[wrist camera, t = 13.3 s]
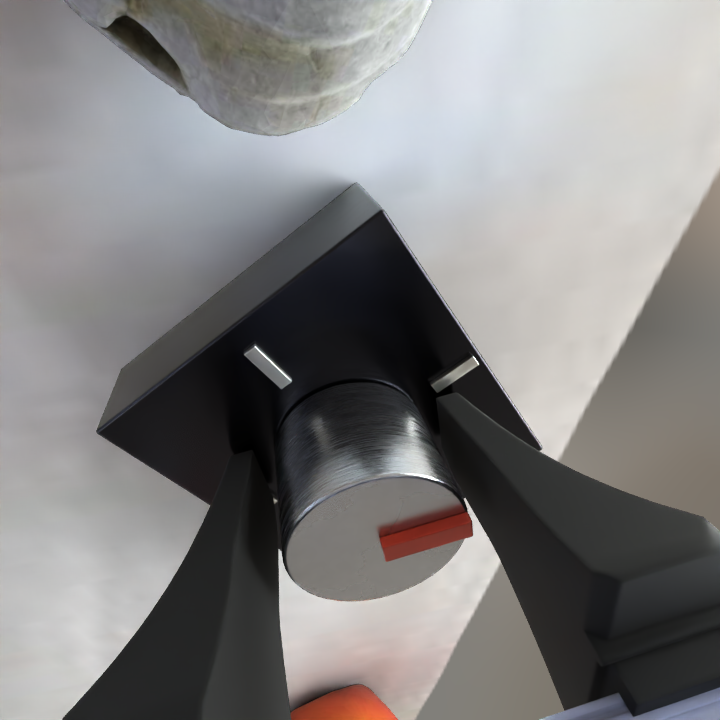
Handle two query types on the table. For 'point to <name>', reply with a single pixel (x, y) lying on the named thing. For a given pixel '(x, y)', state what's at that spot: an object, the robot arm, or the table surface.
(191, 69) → the seashell
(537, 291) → the table surface
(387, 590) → the rotary dial knob
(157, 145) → the table surface
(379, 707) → the fruit
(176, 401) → the tap plate
